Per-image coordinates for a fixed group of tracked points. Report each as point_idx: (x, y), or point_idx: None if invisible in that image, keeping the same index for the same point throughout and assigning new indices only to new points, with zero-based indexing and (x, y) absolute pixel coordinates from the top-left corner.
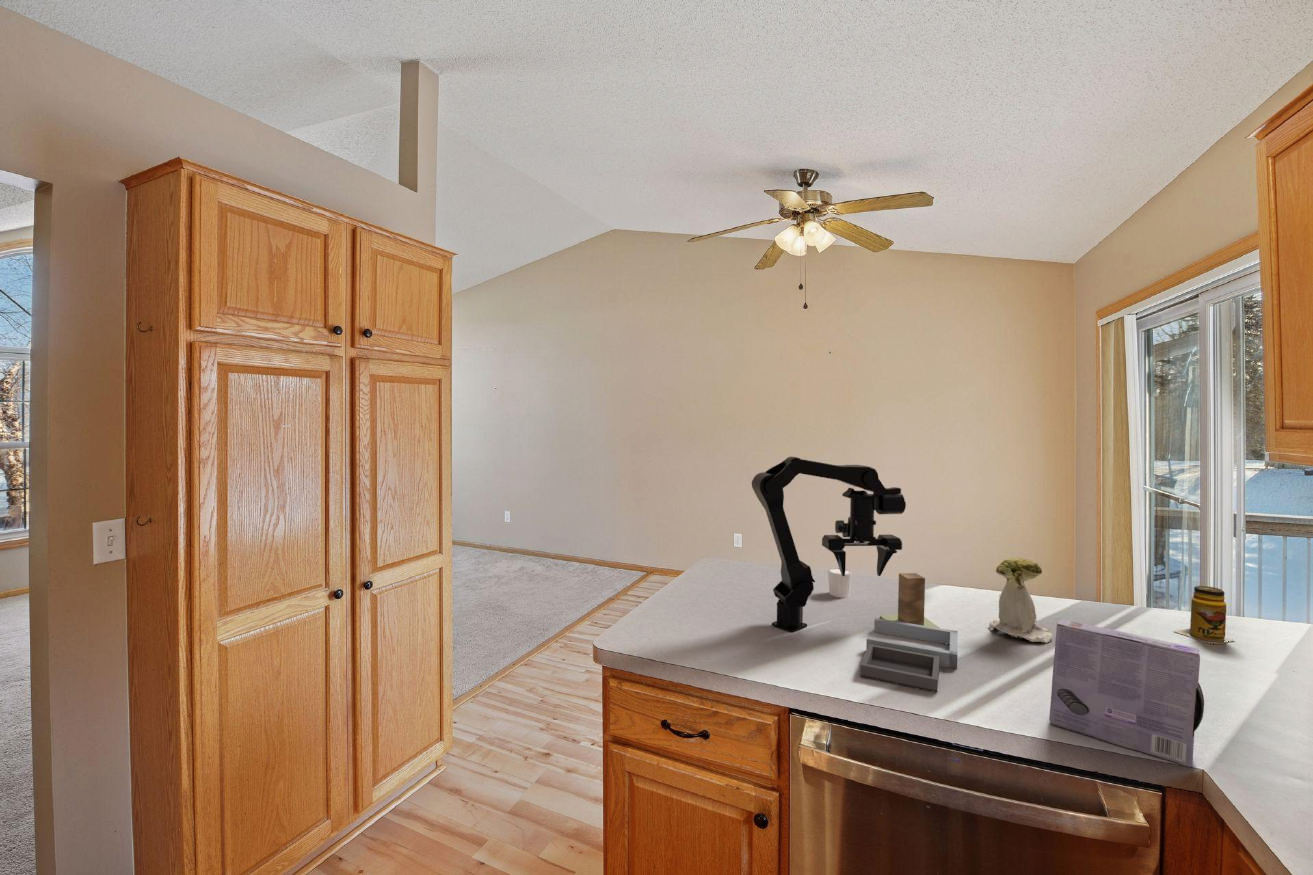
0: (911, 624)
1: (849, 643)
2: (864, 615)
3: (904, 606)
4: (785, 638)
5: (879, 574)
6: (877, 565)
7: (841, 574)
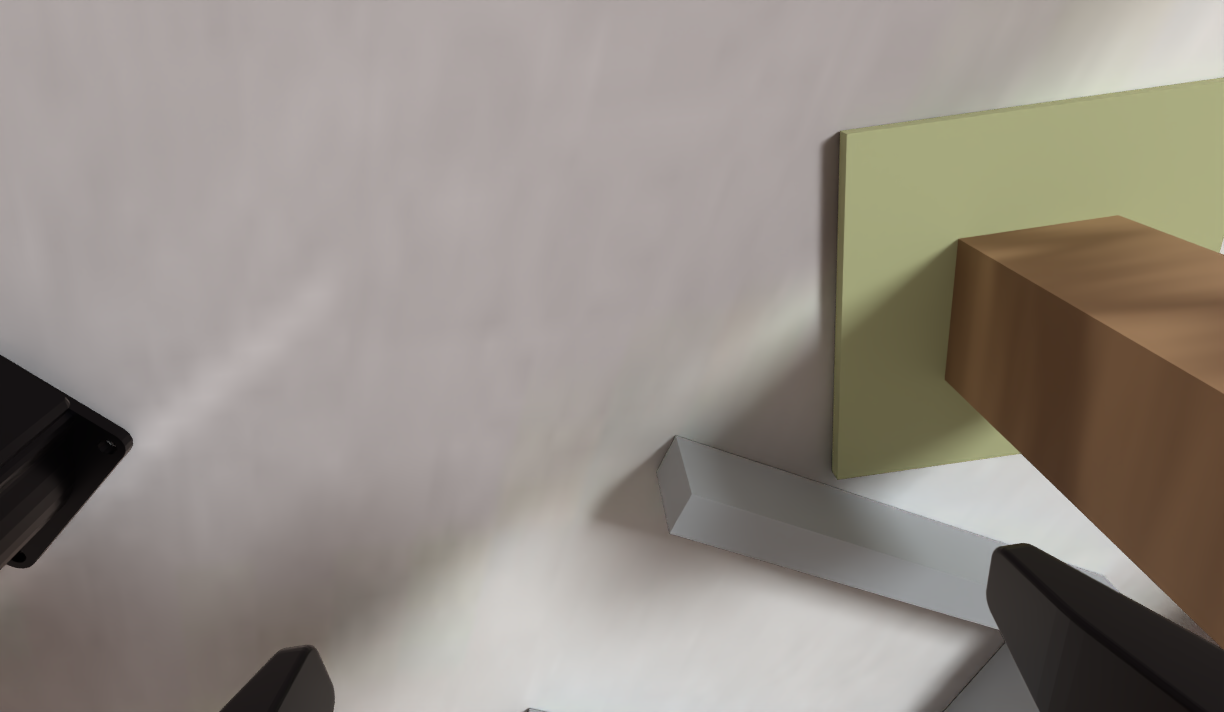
0: (919, 582)
1: (440, 651)
2: (701, 92)
3: (1039, 429)
4: (12, 641)
5: (1006, 638)
6: (1142, 697)
7: (273, 663)
